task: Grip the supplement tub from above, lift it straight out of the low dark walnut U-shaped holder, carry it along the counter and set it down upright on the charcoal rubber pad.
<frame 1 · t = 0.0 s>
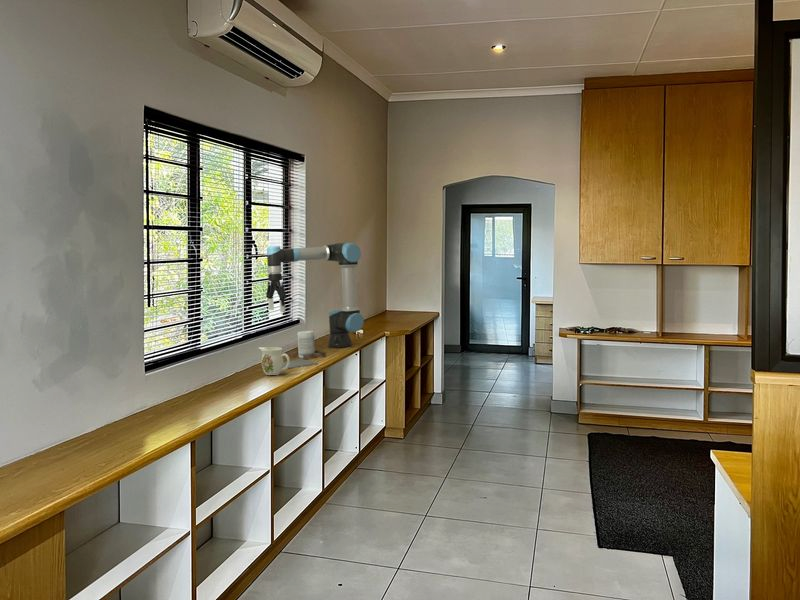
hand: (276, 310, 392), 28 cm above the table, tool pointing down, fingers open, 13 cm apart
supplement tub: (306, 357, 400), on the table
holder: (306, 356, 400), on the table
pitcher: (274, 375, 350), on the table
pad: (295, 364, 377), on the table
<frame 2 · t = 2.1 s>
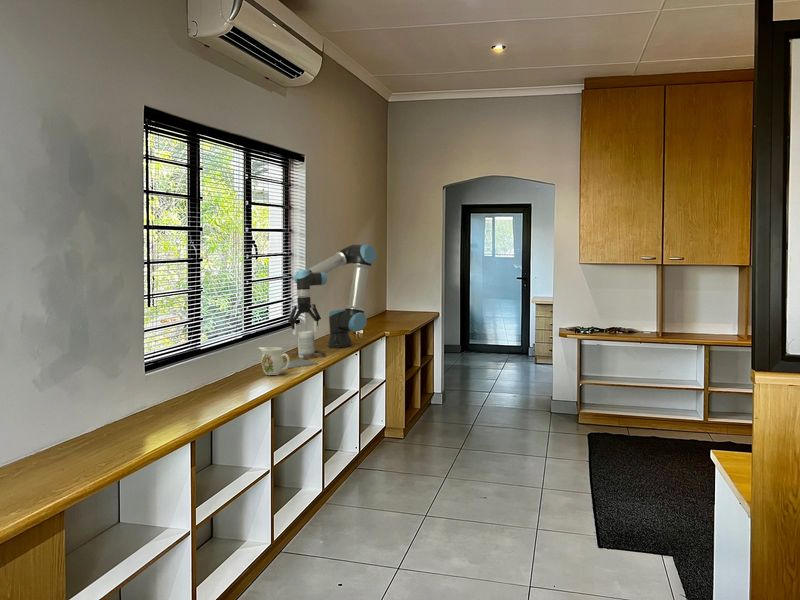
hand: (305, 333, 398), 14 cm above the table, tool pointing down, fingers open, 13 cm apart
nothing on the table moved.
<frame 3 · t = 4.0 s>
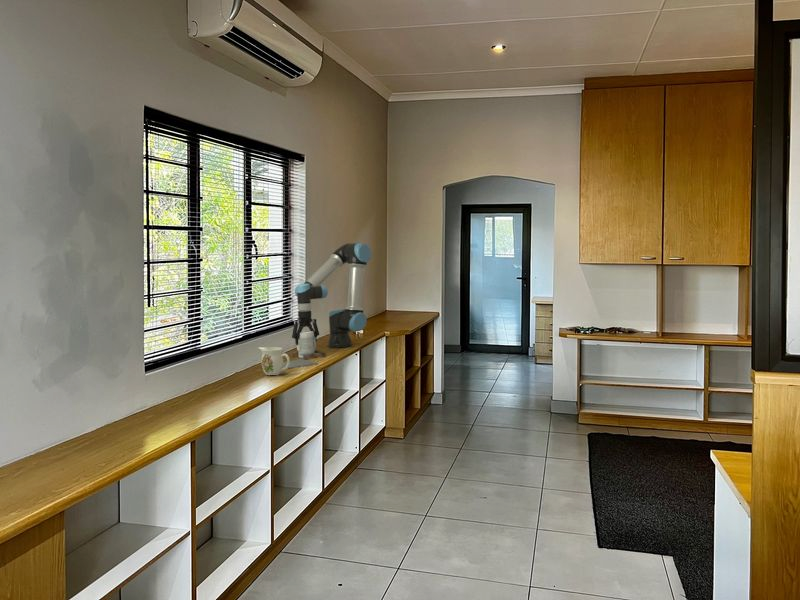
hand: (306, 349, 399), 5 cm above the table, tool pointing down, fingers closed on supplement tub, 9 cm apart
supplement tub: (306, 357, 400), on the table, touching gripper
everything else where it was.
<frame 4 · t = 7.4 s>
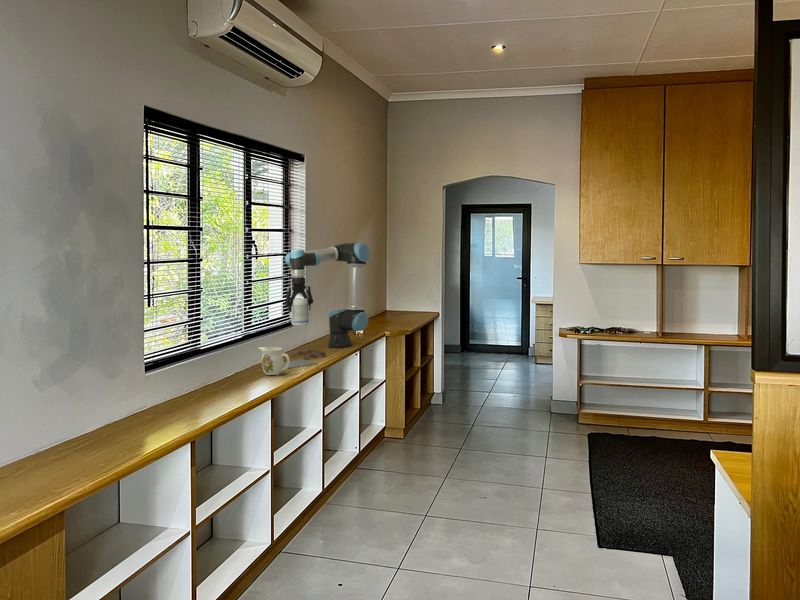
hand: (299, 316, 389), 24 cm above the table, tool pointing down, fingers closed on supplement tub, 9 cm apart
supplement tub: (300, 325, 389), point 20 cm above the table, touching gripper
everything else where it was.
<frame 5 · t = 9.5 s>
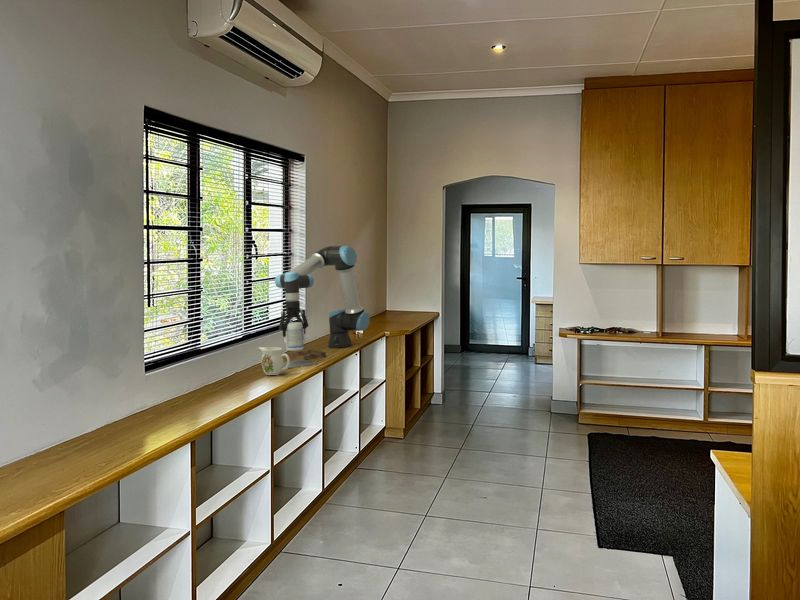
hand: (294, 341, 376), 13 cm above the table, tool pointing down, fingers closed on supplement tub, 9 cm apart
supplement tub: (294, 350, 376), point 8 cm above the table, touching gripper
everything else where it was.
when the fingers open (6 cm above the table, at t = 11.0 s): supplement tub drops 1 cm, resting on pad.
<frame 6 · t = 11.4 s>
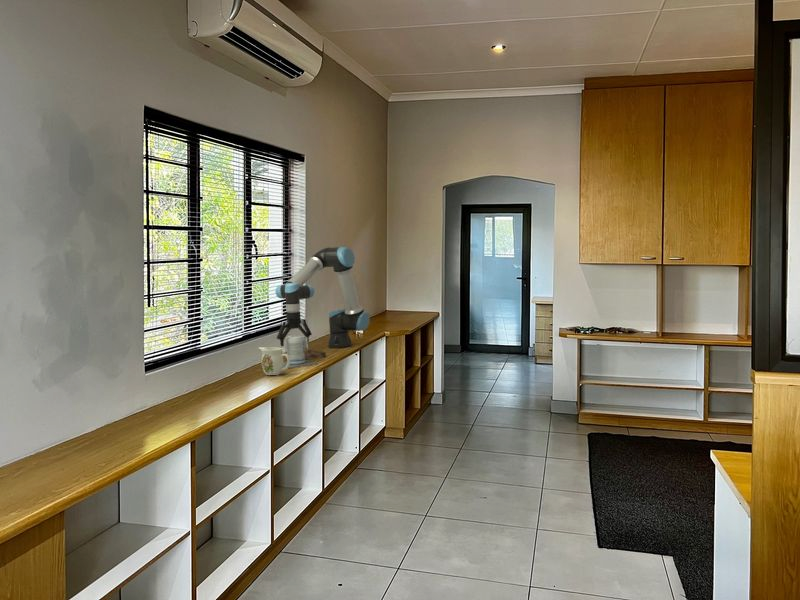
hand: (295, 350, 377), 8 cm above the table, tool pointing down, fingers open, 13 cm apart
supplement tub: (296, 363, 378), resting on pad
everything else where it was.
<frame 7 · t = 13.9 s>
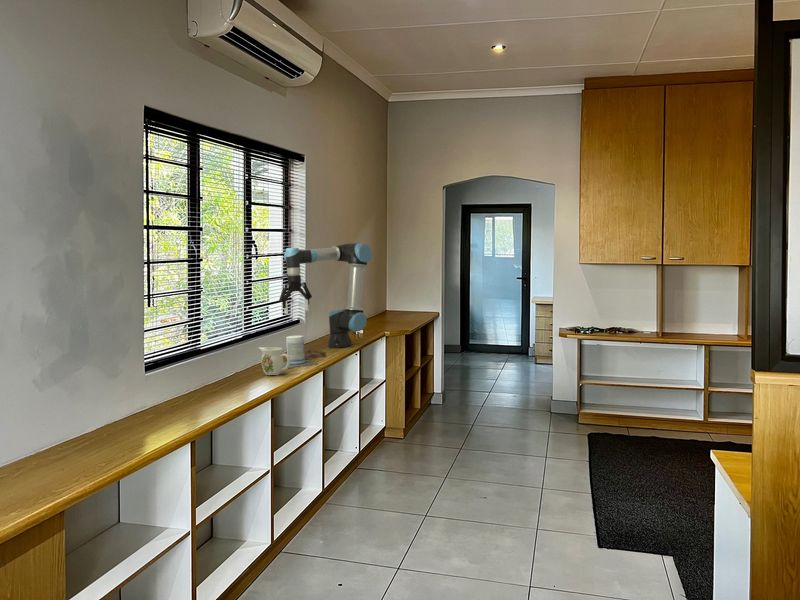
hand: (296, 312, 394), 27 cm above the table, tool pointing down, fingers open, 13 cm apart
nothing on the table moved.
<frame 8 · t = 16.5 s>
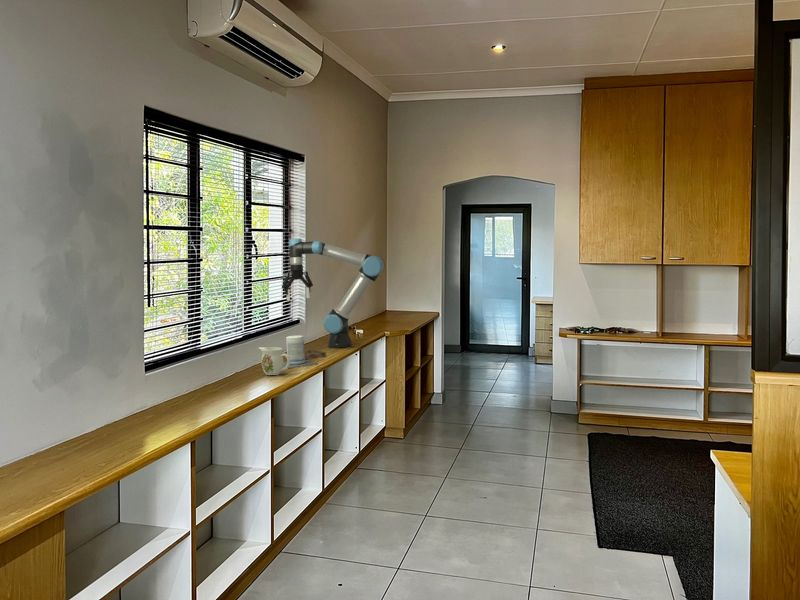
hand: (298, 299, 420), 32 cm above the table, tool pointing down, fingers open, 13 cm apart
nothing on the table moved.
at the end: supplement tub inside the target area on the pad (0.3 cm from its centre), point 0.3 cm above the pad's base; supplement tub tilted 0°; the gripper is holding nothing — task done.
